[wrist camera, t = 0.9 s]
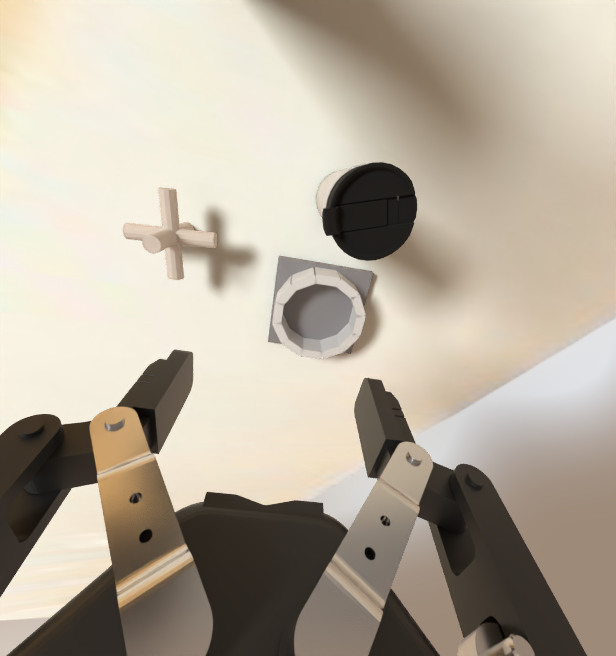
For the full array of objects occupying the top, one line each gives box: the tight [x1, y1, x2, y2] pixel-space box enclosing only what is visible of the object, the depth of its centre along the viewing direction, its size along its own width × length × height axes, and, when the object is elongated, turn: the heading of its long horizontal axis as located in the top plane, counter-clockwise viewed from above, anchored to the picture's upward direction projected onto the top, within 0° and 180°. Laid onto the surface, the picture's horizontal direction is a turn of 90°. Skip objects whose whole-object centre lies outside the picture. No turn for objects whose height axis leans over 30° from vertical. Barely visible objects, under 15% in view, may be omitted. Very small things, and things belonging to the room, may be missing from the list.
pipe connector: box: [123, 188, 217, 280], centre depth 33 cm, size 10×10×10 cm
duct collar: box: [268, 256, 373, 359], centre depth 41 cm, size 13×13×5 cm
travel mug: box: [316, 162, 417, 261], centre depth 28 cm, size 6×7×20 cm
